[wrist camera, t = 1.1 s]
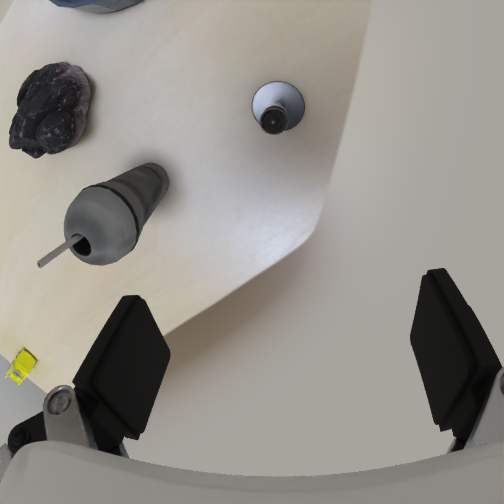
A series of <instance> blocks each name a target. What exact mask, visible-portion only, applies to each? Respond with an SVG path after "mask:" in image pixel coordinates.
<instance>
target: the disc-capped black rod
mask: <svg viewBox="0 0 504 504" xmlns="http://www.w3.org/2000/svg"><path fill="white" fill-rule="evenodd" d="M304 111H305V103H304V99H303V97H302V95H301V93H300V92H299V91H298V90H297V89H296V88H295V87H294V86H292V85H290V84H288V83H285V82H278V81H277V82H270V83H267V84H265V85H263V86H262V87H261V88H260V89H258V91H257V92H256V93H255V95H254V97H253V100H252V112H253V115H254V117H255V119H256V120H257V122H258V123H259V124H260V126H261V128H262V129H263V131H265V132H266V133H268V134H270V135H277V134H280V133H282V132H283V131H287V130H289V129H292V128H293V127H295V126H296V125H297V124H298V123H299V122H300V121H301V119H302V117H303V115H304Z"/></svg>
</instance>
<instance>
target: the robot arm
mask: <svg viewBox="0 0 504 504" xmlns="http://www.w3.org/2000/svg"><path fill="white" fill-rule="evenodd" d="M410 341H411V345H412V348H413V351H414V354H415V357H416V360H417V363H418V367H419V370H420V373H421V377H422V380H423V383H424V387H425V390H426V394H427V398H428V401H429V405H430V409H431V413H432V417H433V421H434V423H435V424H436V425H438V424H439V427H440V431H441V432H442V431H446V430H449V429H452V432H453V436H454V439H453V441H452V443H451V446H450V447H449V449H448V451H447V453H446V454H444V455H441V456H437V457H433V458H429V459H425V460H421V461H416V462H411V463H407V464H401V465H396V466H391V467H385V468H380V469H373V470H367V471H359V472H352V473H342V474H332V475H318V476H294V477H264V476H241V475H227V474H215V473H206V472H199V471H192V470H184V469H178V468H172V467H167V466H161V465H156V464H151V463H146V462H142V461H138V460H133V459H129V456H128V454H127V452H126V449H125V447H124V444H123V442H122V441H123V438H124V436H125V437H126V438H130V439H134V440H138V439H139V436H140V433H143V432H144V430H145V428H146V425H147V422H148V419H149V416H150V413H151V410H152V407H153V405H154V402H155V399H156V396H157V393H158V390H159V388H160V385H161V382H162V379H163V377H164V374H165V371H166V368H167V366H168V363H169V360H170V350H169V347H168V346H167V344H166V342H165V340H164V338H163V336H162V334H161V332H160V330H159V328H158V326H157V324H156V322H155V320H154V318H153V316H152V314H151V312H150V309H149V307H148V305H147V303H146V301H145V300H144V299H142V298H141V297H140V296H139V295H127V296H123V297H122V298H121V300H120V301H119V303H118V304H117V306H116V308H115V309H114V311H113V312H112V314H111V316H110V317H109V319H108V320H107V322H106V324H105V325H104V327H103V329H102V330H101V332H100V334H99V335H98V337H97V339H96V340H95V342H94V344H93V345H92V347H91V349H90V351H89V352H88V354H87V356H86V358H85V359H84V361H83V363H82V365H81V366H80V368H79V370H78V372H77V374H76V375H75V377H74V379H73V381H72V382H73V383H74V385H75V388H74V389H73V388H71V387H70V386H68V385H60V386H57V387H55V388H54V389H52V390H51V391H50V392H49V393H48V394H47V396H46V398H45V400H44V403H43V411H42V412H40V413H38V414H37V415H35V416H33V417H31V418H29V419H27V420H25V421H24V422H22V423H20V424H18V425H16V426H15V427H14V428H13V429H12V430H11V432H10V434H9V437H8V445H7V444H6V443H5V444H4V445H3V446H2V447H1V448H0V504H504V367H502V365H501V363H500V361H499V359H498V357H497V355H496V353H495V351H494V349H493V347H492V345H491V343H490V341H489V339H488V337H487V335H486V333H485V331H484V330H483V328H482V326H481V324H480V322H479V320H478V319H477V317H476V315H475V313H474V312H473V310H472V308H471V307H470V306H469V305H468V304H467V303H466V301H465V299H464V298H463V296H462V294H461V293H460V291H459V289H458V288H457V286H456V285H455V283H454V282H453V280H452V278H451V277H450V275H449V274H448V273H447V271H446V269H444V268H440V269H433V270H428V271H427V274H426V275H423V277H422V280H421V286H420V291H419V296H418V302H417V306H416V311H415V316H414V320H413V324H412V329H411V334H410Z"/></svg>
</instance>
